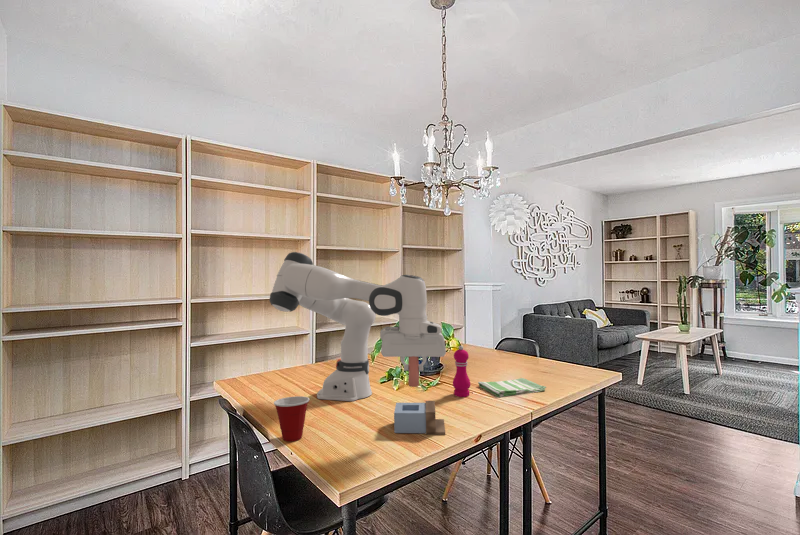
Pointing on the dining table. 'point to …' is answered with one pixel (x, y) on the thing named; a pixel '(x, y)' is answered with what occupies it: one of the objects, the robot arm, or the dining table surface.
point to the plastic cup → (291, 416)
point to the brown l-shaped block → (433, 421)
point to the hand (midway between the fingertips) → (413, 370)
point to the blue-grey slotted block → (410, 418)
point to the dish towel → (511, 387)
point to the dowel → (413, 371)
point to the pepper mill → (461, 373)
